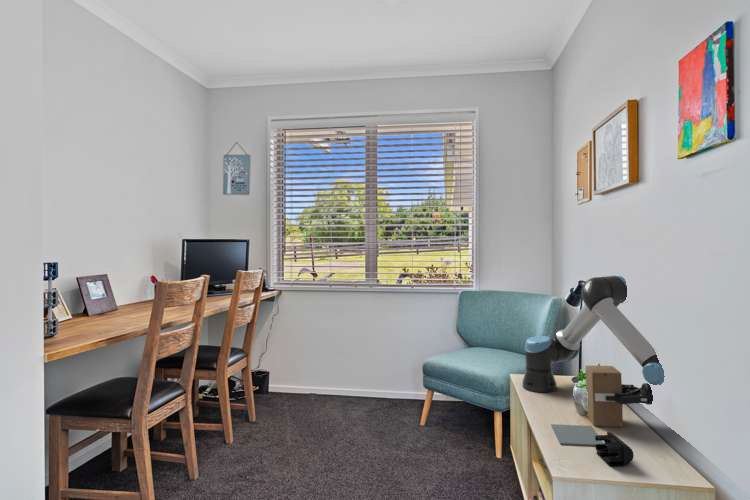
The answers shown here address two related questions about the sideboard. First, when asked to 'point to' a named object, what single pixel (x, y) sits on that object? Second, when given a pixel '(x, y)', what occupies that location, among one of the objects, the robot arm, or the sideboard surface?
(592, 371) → the wooden block
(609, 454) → the black rounded block
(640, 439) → the sideboard surface
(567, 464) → the sideboard surface
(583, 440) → the mat
